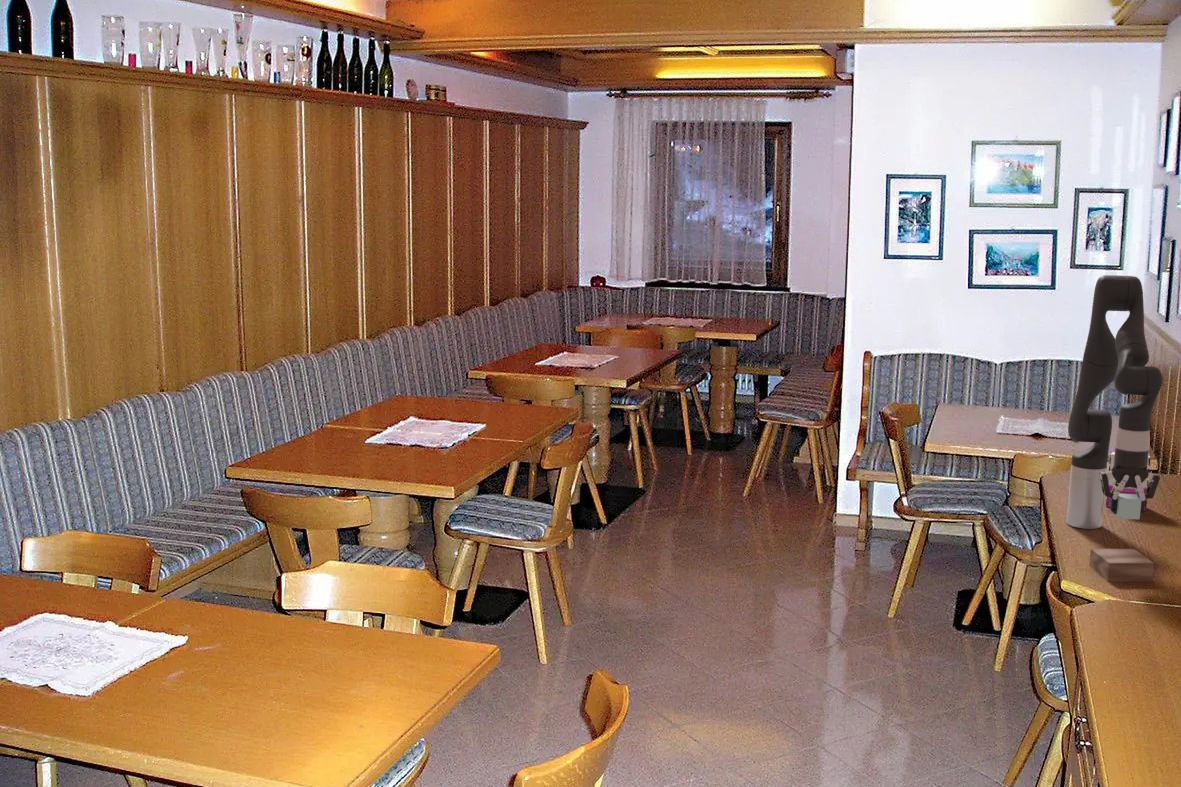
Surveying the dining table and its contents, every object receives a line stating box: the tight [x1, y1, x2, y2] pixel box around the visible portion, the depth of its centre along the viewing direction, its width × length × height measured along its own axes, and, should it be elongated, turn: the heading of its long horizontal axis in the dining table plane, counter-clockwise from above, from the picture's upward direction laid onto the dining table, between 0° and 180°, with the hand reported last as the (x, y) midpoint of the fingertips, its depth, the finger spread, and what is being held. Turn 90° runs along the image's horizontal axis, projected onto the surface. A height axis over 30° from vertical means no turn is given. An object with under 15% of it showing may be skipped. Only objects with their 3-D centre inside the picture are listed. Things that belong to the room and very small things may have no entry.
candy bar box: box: [1105, 450, 1151, 511], centre depth 356 cm, size 11×5×16 cm, turn 68°
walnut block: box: [1088, 548, 1155, 583], centre depth 299 cm, size 11×11×5 cm
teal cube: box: [1113, 494, 1141, 520], centre depth 296 cm, size 5×5×5 cm
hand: (1125, 513), depth 296 cm, fingers closed on teal cube, 5 cm apart
